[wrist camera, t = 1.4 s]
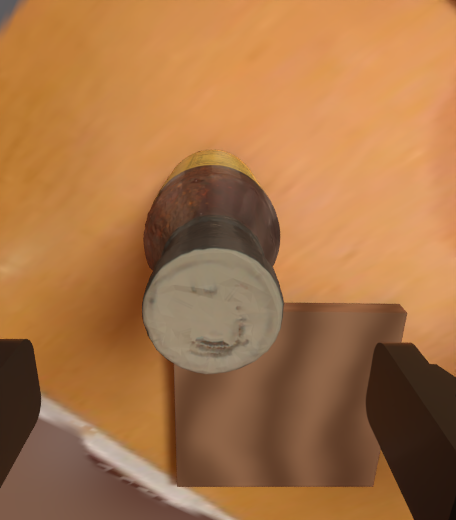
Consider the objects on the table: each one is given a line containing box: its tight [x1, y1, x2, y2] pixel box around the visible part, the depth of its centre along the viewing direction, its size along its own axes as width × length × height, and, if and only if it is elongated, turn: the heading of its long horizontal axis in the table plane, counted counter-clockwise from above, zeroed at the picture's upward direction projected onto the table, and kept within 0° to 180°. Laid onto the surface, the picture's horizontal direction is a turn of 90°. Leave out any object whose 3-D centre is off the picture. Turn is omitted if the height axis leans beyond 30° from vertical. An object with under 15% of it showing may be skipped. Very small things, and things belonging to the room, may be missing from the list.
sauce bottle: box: [142, 150, 284, 374], centre depth 21 cm, size 7×6×20 cm
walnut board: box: [174, 303, 407, 487], centre depth 36 cm, size 18×18×2 cm
